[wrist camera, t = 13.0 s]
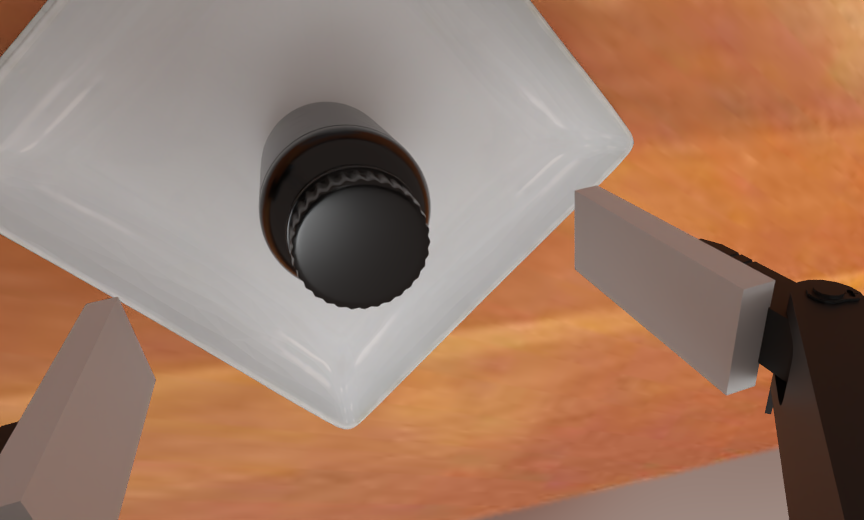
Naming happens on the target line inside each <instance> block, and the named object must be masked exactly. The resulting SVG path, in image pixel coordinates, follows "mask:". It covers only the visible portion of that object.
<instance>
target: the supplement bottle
mask: <svg viewBox="0 0 864 520" xmlns="http://www.w3.org/2000/svg"><path fill="white" fill-rule="evenodd" d="M430 214H431V201H430V193H429V189H428V185H427V182H426V179H425V177H424V175H423V172H422V170H421V169H420V167H419V165H418V164H417V162H416V161H415V160H414V158H413V157H412V156H411V154H410V153H409V152H408V151H407V150H406V149H405V148H404V147H403V146H402V145H401V144H400V143H398V142H397V141H396V140H395V139H394V138H393V137H392V136H391V135H390V134H388V133H387V132H386V131H385V130H384V129H383V128H382V127H381V126H379V125H378V124H377V123H376V122H375V121H374V120H373V119H371V118H370V117H369V116H367V115H366V114H365V113H363V112H361V111H360V110H358V109H356V108H354V107H351V106H349V105H346V104H342V103H337V102H316V103H311V104H307V105H304V106H301V107H299V108H297V109H295V110H293V111H291V112H290V113H288V114H287V115H286V116H284V117H283V118H282V119H281V120H280V121H279V122H278V123H277V124H276V126H275V127H274V128H273V130H272V131H271V133H270V134H269V136H268V138H267V140H266V143H265V145H264V149H263V152H262V158H261V169H260V189H259V219H260V225H261V230H262V233H263V236H264V239H265V242H266V244H267V246H268V248H269V250H270V251H271V253H272V254H273V256H274V257H275V259H276V260H277V261H278V262H279V263H280V265H281V266H282V267H283V268H284V269H285V270H287V271H288V272H289V273H290V274H291V275H293V276H294V277H296V278H297V279H299V280H301V281H303V283H304V286H305V288H306V289H308V290H311V291H312V292H313V294H314V296H315V297H318V298H321V299H323V300H324V301H325V302H326V303H329V304H335V305H336V306H337V307H347V308H349V309H356V308H361V309H367V308H369V307H378V306H380V305H381V304H383V303H388V302H391V301H392V300H393V299H394V298H395V297H398V296H401V295H402V294H403V292H404V291H405V290H406V289H408V288H410V287H411V286H412V284H413V282H414V281H415V280H416V279H417V278H419V275H420V271H421V270H422V269H423V268H424V267H425V260H426V258H427V257H428V255H429V251H428V247H429V245H430V239H429V236H428V234H429V227H428V226H429V222H430Z"/></svg>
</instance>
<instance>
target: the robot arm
mask: <svg viewBox="0 0 864 520" xmlns="http://www.w3.org/2000/svg"><path fill="white" fill-rule="evenodd" d="M575 270H576V271H578V272H579V273H580V274H581V275H582V276H584V277H585V278H586V279H587V280H588V281H590V282H591V283H592V284H593V285H594V286H596V287H597V288H598V289H599V290H600V291H602V292H603V293H604V294H605V295H606V296H608V297H609V298H610V299H611V300H612V301H614V302H615V303H616V304H617V305H618V306H620V307H621V308H622V309H623V310H624V311H626V312H627V313H628V314H629V315H630V316H632V317H633V318H634V319H635V320H636V321H638V322H639V323H640V324H641V325H642V326H644V327H645V328H646V329H647V330H648V331H650V332H651V333H652V334H653V335H654V336H656V337H657V338H658V339H659V340H660V341H662V342H663V343H664V344H665V345H666V346H668V347H669V348H670V349H671V350H672V351H674V352H675V353H676V354H677V355H678V356H680V357H681V358H682V359H683V360H684V361H686V362H687V363H688V364H689V365H690V366H692V367H693V368H694V369H695V370H696V371H698V372H699V373H700V374H701V375H702V376H704V377H705V378H706V379H707V380H708V381H710V382H711V383H712V384H713V385H714V386H716V387H717V388H718V389H719V390H720V391H722V392H723V393H724V394H725V395H729V394H732V393H735V392H738V391H741V390H744V389H747V388H750V387H753V386H755V383H756V378H757V372H758V367H759V363H760V364H761V365H763V366H764V367H765V368H767V369H768V370H770V371H771V372H772V373H773V377H772V382H771V387H770V391H769V396H768V401H767V406H766V410H765V413H767V414H771V411H772V408H773V409H774V416H775V423H776V430H777V437H778V444H779V451H780V458H781V465H782V472H783V479H784V486H785V493H786V500H787V506H788V514H789V520H864V296H863V295H862V294H861V292H859V291H857V290H855V289H853V288H852V287H850V286H847V285H843V284H840V283H837V282H832V281H826V280H806V281H801V282H798V283H796V282H794V281H792V280H790V279H788V278H786V277H784V276H782V275H780V274H778V273H776V272H775V271H773V270H771V269H769V268H767V267H765V266H763V265H761V264H759V263H757V262H752V260H751V259H749V258H747V257H745V256H744V255H739V253H738V252H736V251H734V250H732V249H730V248H728V247H726V246H724V245H722V244H719V243H715V242H711V241H708V240H704V239H697V238H695V237H693V236H691V235H689V234H687V233H685V232H684V231H682V230H680V229H678V228H676V227H674V226H672V225H670V224H669V223H667V222H665V221H663V220H661V219H659V218H657V217H655V216H654V215H652V214H650V213H648V212H646V211H644V210H642V209H640V208H639V207H637V206H635V205H633V204H631V203H629V202H627V201H625V200H624V199H622V198H620V197H618V196H616V195H614V194H612V193H610V192H608V191H607V190H605V189H603V188H601V187H599V186H597V185H596V186H592V187H587V188H583V189H579V190H575ZM155 381H156V379H155V377H154V375H153V373H152V370H151V368H150V366H149V364H148V362H147V359H146V357H145V355H144V353H143V351H142V348H141V346H140V344H139V342H138V340H137V337H136V335H135V333H134V331H133V329H132V326H131V324H130V322H129V320H128V318H127V315H126V313H125V311H124V309H123V307H122V304H121V302H120V300H119V298H118V297H114V298H110V299H105V300H101V301H97V302H92V303H88V304H86V305H85V307H84V308H83V310H82V312H81V314H80V315H79V317H78V319H77V321H76V322H75V324H74V326H73V328H72V329H71V331H70V333H69V335H68V336H67V338H66V340H65V342H64V343H63V345H62V347H61V349H60V350H59V352H58V354H57V356H56V357H55V359H54V361H53V363H52V364H51V366H50V368H49V370H48V371H47V373H46V375H45V377H44V378H43V380H42V382H41V384H40V385H39V387H38V389H37V391H36V392H35V394H34V396H33V398H32V399H31V401H30V403H29V405H28V406H27V408H26V410H25V412H24V413H23V415H22V417H21V419H20V420H19V422H15V423H11V424H8V425H4V426H1V427H0V520H118V518H119V514H120V510H121V507H122V503H123V499H124V495H125V492H126V488H127V484H128V481H129V477H130V473H131V470H132V466H133V462H134V459H135V455H136V451H137V447H138V444H139V440H140V436H141V433H142V429H143V425H144V422H145V418H146V414H147V410H148V407H149V403H150V399H151V396H152V392H153V388H154V385H155Z"/></svg>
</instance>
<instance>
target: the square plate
mask: <svg viewBox="0 0 864 520" xmlns="http://www.w3.org/2000/svg"><path fill="white" fill-rule="evenodd" d="M316 102H337V103H342V104H346V105H349V106H351V107H354V108H356V109H358V110H360V111H361V112H363V113H365V114H366V115H367V116H369V117H370V118H371V119H373V120H374V121H375V122H376V123H377V124H378V125H379V126H381V127H382V128H383V129H384V130H385V131H386V132H387V133H388V134H390V135H391V136H392V137H393V138H394V139H395V140H396V141H397V142H398V143H400V144H401V145H402V146H403V147H404V148H405V149H406V150H407V151H408V152H409V153H410V154H411V156H412V157H413V158H414V160H415V161H416V162H417V164H418V165H419V167H420V169H421V170H422V172H423V175H424V177H425V179H426V182H427V185H428V189H429V193H430V201H431V214H430V222H429V226H428V227H429V234H428V236H429V239H430V245H429V247H428V251H429V255H428V257H427V258H426V260H425V267H424V268H423V269H422V270H421V271H420V275H419V278H417V279H416V280H415V281H414V282H413V284H412V286H411V287H410V288H408V289H406V290H405V291H404V292H403V294H402V295H401V296H398V297H395V298H394V299H393V300H392V301H391V302H388V303H383V304H381V305H380V306H378V307H369V308H367V309H361V308H356V309H349V308H347V307H337V306H336V305H335V304H329V303H326V302H325V301H324V300H323V299H321V298H318V297H315V296H314V294H313V292H312V291H311V290H308V289H306V288H305V286H304V283H303V281H301V280H299V279H297V278H296V277H294V276H293V275H291V274H290V273H289V272H288V271H287V270H285V269H284V268H283V267H282V266H281V265H280V263H279V262H278V261H277V260H276V259H275V257H274V256H273V254H272V253H271V251H270V250H269V248H268V246H267V244H266V242H265V239H264V236H263V233H262V230H261V225H260V219H259V189H260V169H261V158H262V152H263V149H264V145H265V143H266V140H267V138H268V136H269V134H270V133H271V131H272V130H273V128H274V127H275V126H276V124H277V123H278V122H279V121H280V120H281V119H282V118H283V117H284V116H286V115H287V114H288V113H290V112H291V111H293V110H295V109H297V108H299V107H301V106H304V105H307V104H311V103H316ZM633 144H634V141H633V137H632V135H631V132H630V131H629V130H628V128H627V127H626V125H625V124H624V122H623V121H622V119H621V118H620V117H619V115H618V114H617V112H616V111H615V110H614V108H613V107H612V106H611V104H610V103H609V102H608V100H607V99H606V98H605V96H604V95H603V94H602V93H601V91H600V90H599V89H598V87H597V86H596V85H595V84H594V82H593V81H592V80H591V78H590V77H589V76H588V74H587V73H586V72H585V71H584V69H583V68H582V67H581V66H580V64H579V63H578V62H577V60H576V59H575V58H574V57H573V55H572V54H571V53H570V52H569V50H568V49H567V48H566V46H565V45H564V44H563V43H562V41H561V40H560V39H559V38H558V36H557V35H556V34H555V32H554V31H553V30H552V28H551V27H550V26H549V24H548V23H547V21H546V20H545V19H544V17H543V16H542V15H541V14H540V12H539V11H538V10H537V9H536V7H535V6H534V5H533V4H532V2H531V1H530V0H47V2H46V3H45V4H44V5H43V7H42V8H41V9H40V11H39V12H38V13H37V14H36V15H35V17H34V18H33V19H32V20H31V21H30V23H29V24H28V25H27V26H26V27H25V29H24V30H23V31H22V32H21V33H20V34H19V36H18V37H17V38H16V39H15V40H14V42H13V43H12V44H11V45H10V46H9V48H8V49H7V50H6V51H5V52H4V54H3V55H2V56H1V57H0V234H1V235H3V236H5V237H7V238H8V239H10V240H12V241H14V242H16V243H17V244H19V245H21V246H23V247H25V248H26V249H28V250H30V251H32V252H34V253H35V254H37V255H39V256H41V257H42V258H44V259H46V260H48V261H50V262H51V263H53V264H55V265H57V266H59V267H60V268H62V269H64V270H66V271H67V272H69V273H71V274H73V275H74V276H76V277H78V278H80V279H81V280H83V281H85V282H87V283H88V284H90V285H92V286H94V287H96V288H97V289H99V290H101V291H103V292H104V293H106V294H108V295H110V296H111V297H113V298H114V297H118V298H119V300H120V302H122V303H124V304H126V305H127V306H129V307H131V308H133V309H134V310H136V311H138V312H140V313H141V314H143V315H145V316H147V317H148V318H150V319H152V320H153V321H155V322H157V323H159V324H160V325H162V326H164V327H166V328H167V329H169V330H171V331H173V332H174V333H176V334H178V335H180V336H181V337H183V338H185V339H186V340H188V341H190V342H191V343H193V344H195V345H197V346H198V347H200V348H202V349H203V350H205V351H207V352H209V353H210V354H212V355H214V356H215V357H217V358H219V359H221V360H222V361H224V362H226V363H227V364H229V365H231V366H233V367H234V368H236V369H238V370H239V371H241V372H243V373H244V374H246V375H248V376H250V377H251V378H253V379H255V380H256V381H258V382H260V383H261V384H263V385H265V386H266V387H268V388H269V389H271V390H273V391H275V392H276V393H278V394H280V395H281V396H283V397H285V398H287V399H288V400H290V401H292V402H294V403H295V404H297V405H299V406H300V407H302V408H304V409H305V410H307V411H309V412H311V413H313V414H315V415H316V416H318V417H320V418H322V419H323V420H325V421H327V422H329V423H331V424H333V425H335V426H337V427H339V428H342V429H351V428H354V427H355V426H357V425H358V424H359V423H360V422H362V421H363V420H364V419H365V418H366V417H367V416H368V415H369V414H370V413H371V412H372V411H373V410H374V409H375V408H376V407H377V406H378V405H379V404H380V403H381V402H382V401H383V400H384V399H385V398H386V397H387V396H388V395H389V394H390V393H391V392H392V391H393V390H394V389H395V388H396V387H397V386H398V385H399V384H400V383H401V382H402V381H403V380H404V379H405V378H406V377H407V376H408V375H409V374H410V373H411V372H412V371H413V370H414V369H415V368H416V367H417V366H418V365H419V364H420V363H421V362H422V361H423V360H424V359H425V358H426V357H427V356H428V355H429V354H430V353H431V352H432V351H433V350H434V349H435V348H436V347H437V346H438V345H439V344H440V343H441V342H442V341H443V340H444V339H445V338H446V337H447V336H448V335H449V334H450V333H451V332H452V331H453V330H454V329H455V328H456V327H457V326H458V325H459V324H460V323H461V322H462V321H463V320H464V319H465V318H466V317H467V316H468V315H469V314H470V312H471V311H472V310H473V309H474V308H475V307H476V306H477V305H478V304H479V303H480V302H481V301H483V300H484V299H485V298H486V297H487V296H488V295H489V294H490V293H491V292H492V291H493V290H494V289H495V288H496V287H497V286H498V285H499V284H500V283H501V282H502V281H503V280H504V279H505V278H506V277H507V276H508V275H509V274H510V273H511V272H512V271H513V270H514V269H515V268H516V267H517V266H518V265H519V264H520V263H521V262H522V261H523V260H524V259H525V258H526V257H527V256H528V255H529V254H530V253H531V252H532V251H533V250H534V249H535V248H536V247H537V246H538V245H539V244H540V243H541V242H542V241H543V240H544V239H545V238H546V237H547V236H548V235H549V234H550V233H551V232H552V231H553V230H554V229H555V228H556V227H557V226H558V225H559V224H560V223H561V222H562V221H563V220H564V219H565V218H566V217H567V216H568V215H569V214H570V213H571V212H572V211H573V210H574V209H575V190H579V189H583V188H587V187H592V186H596V185H597V186H598V185H599V184H600V183H601V182H602V181H603V180H604V179H606V178H607V177H608V176H609V174H610V173H611V172H612V171H613V170H614V169H615V168H616V167H617V166H618V165H619V164H620V163H621V162H622V161H623V159H624V158H625V157H626V156H627V155H628V154H629V152H630V151H631V149H632V147H633Z"/></svg>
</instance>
